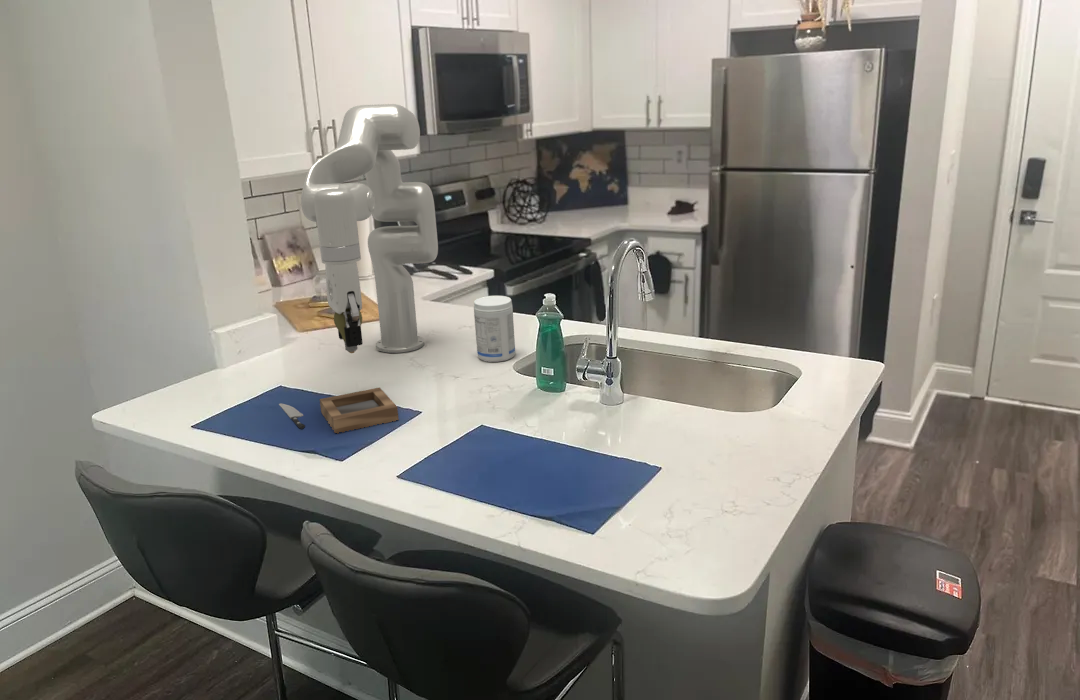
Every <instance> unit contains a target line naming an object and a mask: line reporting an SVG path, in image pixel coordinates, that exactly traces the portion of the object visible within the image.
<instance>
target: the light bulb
mask: <svg viewBox="0 0 1080 700" xmlns="http://www.w3.org/2000/svg"><path fill="white" fill-rule="evenodd" d="M348 311H350V308H349V309H346V312H348ZM333 314H334V315H333V322H334V325H335V327H336V329H337V331H338V330H339V332H340V333H341V335H342V338H343V339H342V341H343V342H344V346H345V347H344V348H345V351H346V352H348V353H349V354H354V353H355V352H356V351H357V350H358V346H352V347H347V346H346V340H345V332H344V327H346V326H345V321H344V315H343V312H342V313H341V314H338V313H336V312H335V311H334V313H333ZM347 316H348V318H349V316H351V314H350V315H347ZM359 319H360V325H361V326H362V324H363V314H362V312H361V310H360V311H359Z"/></svg>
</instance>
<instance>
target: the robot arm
mask: <svg viewBox="0 0 1080 700" xmlns="http://www.w3.org/2000/svg"><path fill="white" fill-rule="evenodd" d="M342 119H343V121H342V122H341V128H340V132H339V135H338V139H337V143H336V148H334V149H332V150H330V151H329V152H327V153H326V154H325V155H323V156H322V157H321V158H320V159H319V160H317V161H315V162H314V163H313V165H311V167H310V168H309V169H308V171H307V173H306V176H305V179H304V182H303V186H302V190H301V196H300V205H301V207H300V208H301V210H302V213H303V215H304V216H305V218H306V219H308V220H309V221H311V222H314V223H316V227H317V234H318V242H319V252H320V258H321V259H320V261H321V263H322V264H324V265H325V269H324V270H325V284H326V294H327V295H326V296H327V304H328V306H329V307H330V308H331V310H333V311H334V313H335V312H336V313H338V314H341V313H342V312H343V315H344V321H345V326H346V327H344V332H345V340H346V346H347V347H352V346H357V347H358V346H362V345H363V335H362V324H361V325H360V319H359V311H360V312H361V310H362V309H363V299H362V291H361V283H360V282H361V281H360V277H359V275H360V274H359V270H358V265H357V262H359V261H361V259H362V257H361V249H360V248H361V247H360V238H359V230H358V222H361V221H365V220H367V219H369V218H370V217H371V216H372V218H373V219H374V220H375V221H378V222H383V223H384V222H387V223H388V222H395V223H396V222H414V223H415V224H416V225H389V226H387V225H386V226H381V227H377V228H374V229H373V230H372V231H371V232H369V234H368V237H367V248H368V252H369V256H370V260H371V264H372V268H373V274H374V275H373V276H374V282H375V291H376V293H375V294H376V300H377V301H376V302H377V311H378V312H377V313H378V321H379V322H378V323H379V331H380V339H379V340H378V341H376V343H375V348H376V350H377V351H379V352H382V353H390V354H396V353H397V354H399V353H406V352H412V351H416V350H419V349H421V348H423V346H424V345H425V340H424V338H423V337H421V336H419V335H418V334H419V333H418V324H417V323H418V322H417V313H416V311H417V310H416V303H415V302H416V300H415V291H414V281H413V278H412V277H413V276H411V273H410V272H409V271H408V270H407V269H406V268H405V266H404V265H406V264H409V265H410V264H411V265H412V264H429V263H432V262H434V261H435V260H436V259H437V256H438V254H439V243H438V242H439V241H438V232H437V231H438V230H437V219H436V209H435V201H434V200H435V199H434V196H433V192H432V189H431V188H430V186H429V185H428V184H427V183H425V182H422V181H413V182H412V181H407V182H405V181H404V182H403V179H402V174H401V173H402V172H401V163H400V161H399V158H398V157H397V156H396V155H395V153H394V152H393V151H401V150H403V151H406V150H412V149H415V148H416V147H417V146H418V144H419V142H420V137H421V130H420V124H419V121H418V118H417V117H416V115H415V114H414V113H413V112H412V111H411V110H409V109H408V108H406V107H405V106H402V105H400V104H396V103H390V104H389V103H387V104H386V103H384V104H362V105H356V106H355V105H354V106H353V107H351V108H349V109H348V110H347V111H346V113H345V114H344V116H343V118H342ZM363 175H365V178H366V184H364V183H359V182H350V183H349V182H348V181H351V180H354V179H356V178H358V177H362V176H363ZM346 182H347V183H346ZM349 308H350V311H348V312H346V309H349ZM350 314H351V316H349V318H348V316H347V315H350ZM337 333H338V339H339V340H343V338H342V335H341V333H340V332H339V330H338V329H337Z"/></svg>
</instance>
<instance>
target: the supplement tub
mask: <svg viewBox="0 0 1080 700" xmlns="http://www.w3.org/2000/svg"><path fill="white" fill-rule="evenodd" d="M473 317H474V328H475V330H474V331H475V342H476V352H477V354H476V355H477V357H478V358H479V360H481V361H483V362H487V361H488V362H489V363H498V362H499V363H500V362H505V361H508V360H510V359H512V358H513V357H515V355H516V344H515V343H516V341H515V328H514V327H515V324H514V311H513V302H512V299H511V297H509V296H505V295H486V296H483V297H477V298H476V299H475V300H474V301H473Z"/></svg>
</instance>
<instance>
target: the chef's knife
mask: <svg viewBox="0 0 1080 700" xmlns="http://www.w3.org/2000/svg"><path fill="white" fill-rule="evenodd" d="M278 405H279V406H280V408H281V409H282V411H284V413H285V414H286V415H287V416H288V417H289V419H290V420H291V419H292V420H291V421H293V423H294V424H295V425H296V426H297V428H298V429H300V430H303V429H304V428H305V427H306V425H305V424H303V423H302V422H300V421H299V419H298V418H300V417H304V414H303V413H302V412H301V411H299V410H298V409H296V408H295V407H293V406H291V405H289V404H285V403H278Z"/></svg>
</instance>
